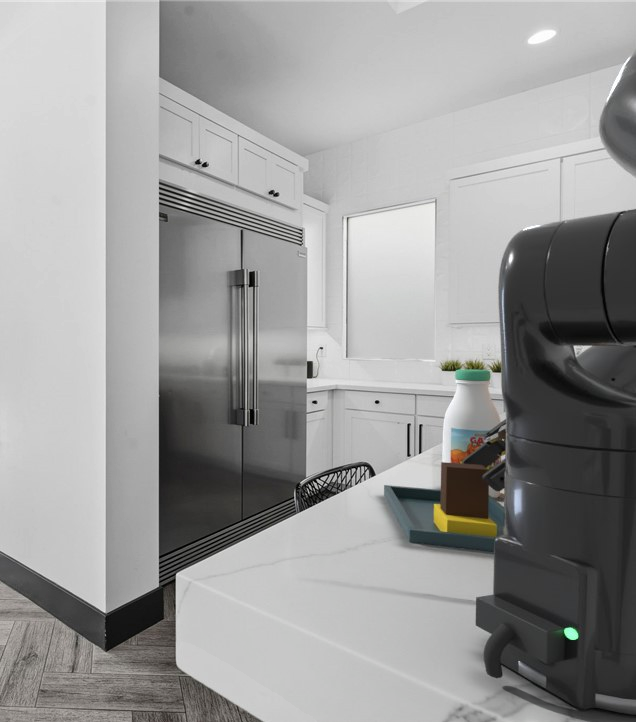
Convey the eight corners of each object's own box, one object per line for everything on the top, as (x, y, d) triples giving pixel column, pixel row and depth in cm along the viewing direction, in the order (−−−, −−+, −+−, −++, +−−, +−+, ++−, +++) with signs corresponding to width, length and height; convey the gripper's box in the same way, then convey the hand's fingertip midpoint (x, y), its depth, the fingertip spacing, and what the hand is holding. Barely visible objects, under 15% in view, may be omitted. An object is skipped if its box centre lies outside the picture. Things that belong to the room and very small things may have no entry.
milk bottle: (431, 490, 88) (433, 369, 87) (459, 485, 91) (462, 368, 90) (481, 502, 81) (484, 371, 80) (510, 496, 84) (513, 370, 83)
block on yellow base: (496, 545, 62) (498, 473, 62) (446, 540, 64) (448, 470, 64) (478, 526, 69) (479, 461, 68) (433, 522, 71) (434, 458, 70)
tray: (550, 563, 59) (551, 545, 58) (409, 546, 64) (409, 529, 63) (487, 507, 79) (487, 493, 79) (383, 497, 84) (384, 484, 84)
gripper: (544, 361, 69) (439, 443, 73) (602, 365, 55) (469, 465, 60) (595, 403, 67) (484, 485, 71) (668, 418, 54) (525, 517, 58)
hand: (477, 476), depth 66 cm, fingers open, 8 cm apart
